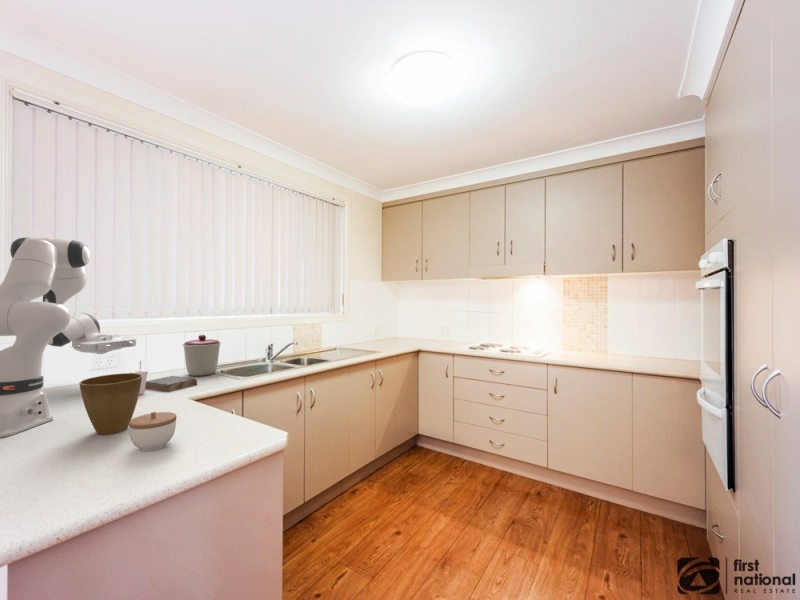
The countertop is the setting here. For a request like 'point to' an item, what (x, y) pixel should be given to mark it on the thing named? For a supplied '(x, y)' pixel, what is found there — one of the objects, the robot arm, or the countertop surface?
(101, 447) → the countertop surface
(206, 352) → the canister
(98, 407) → the plant pot
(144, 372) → the smoothie
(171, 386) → the dark brown flat slab
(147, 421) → the lidded jar
